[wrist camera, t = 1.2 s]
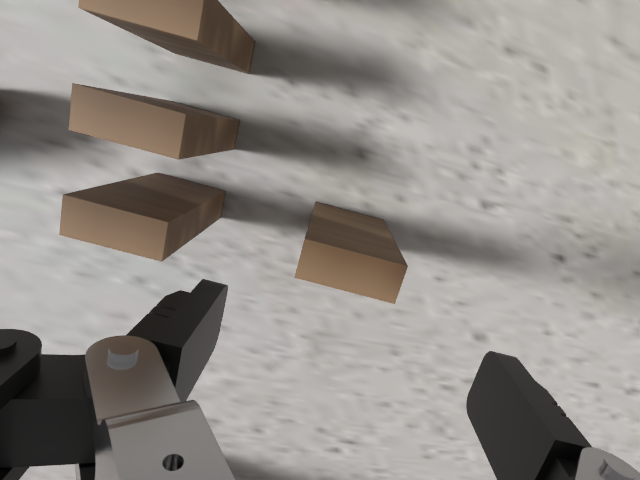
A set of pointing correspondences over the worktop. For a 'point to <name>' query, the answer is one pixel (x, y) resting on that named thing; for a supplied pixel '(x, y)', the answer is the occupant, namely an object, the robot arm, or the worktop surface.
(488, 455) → the robot arm
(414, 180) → the worktop surface
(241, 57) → the tile
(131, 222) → the tile
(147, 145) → the tile
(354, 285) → the end tile
